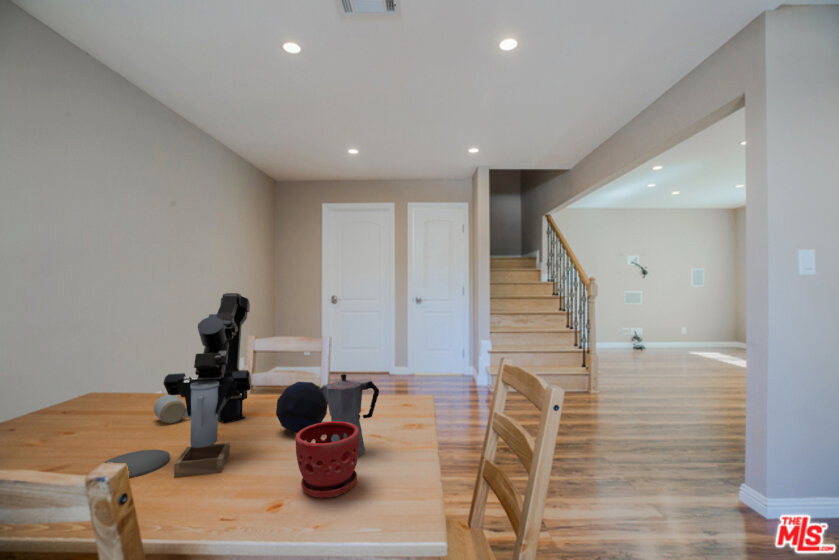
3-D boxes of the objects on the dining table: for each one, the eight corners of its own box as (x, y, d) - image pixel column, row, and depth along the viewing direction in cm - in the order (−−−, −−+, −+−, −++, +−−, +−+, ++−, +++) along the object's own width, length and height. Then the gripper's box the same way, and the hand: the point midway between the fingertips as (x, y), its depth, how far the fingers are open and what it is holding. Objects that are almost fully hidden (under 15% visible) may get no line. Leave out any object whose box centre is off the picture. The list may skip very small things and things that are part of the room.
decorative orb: (261, 411, 117) (277, 375, 111) (305, 400, 128) (322, 367, 122) (280, 451, 109) (299, 415, 103) (325, 435, 121) (344, 402, 115)
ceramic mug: (159, 427, 118) (160, 401, 118) (152, 420, 123) (153, 396, 124) (198, 419, 125) (199, 395, 126) (190, 413, 131) (191, 390, 131)
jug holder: (186, 459, 96) (187, 446, 96) (229, 454, 99) (229, 442, 99) (174, 477, 87) (174, 463, 87) (221, 472, 90) (221, 458, 90)
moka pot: (321, 445, 105) (321, 370, 105) (378, 443, 106) (379, 369, 107) (314, 461, 95) (315, 378, 96) (378, 459, 97) (378, 377, 97)
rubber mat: (160, 448, 103) (160, 444, 103) (177, 464, 93) (177, 461, 93) (91, 465, 92) (91, 462, 92) (103, 486, 83) (103, 482, 83)
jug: (193, 438, 95) (194, 381, 95) (220, 436, 97) (221, 379, 97) (183, 452, 88) (184, 389, 88) (213, 449, 89) (214, 388, 89)
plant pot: (320, 468, 92) (321, 417, 92) (370, 479, 87) (370, 425, 87) (281, 496, 80) (282, 436, 80) (335, 510, 75) (336, 447, 75)
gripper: (166, 340, 95) (148, 399, 84) (250, 338, 100) (242, 393, 89) (176, 366, 102) (160, 424, 91) (253, 363, 107) (247, 417, 96)
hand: (203, 414), depth 92 cm, fingers closed on jug, 6 cm apart
